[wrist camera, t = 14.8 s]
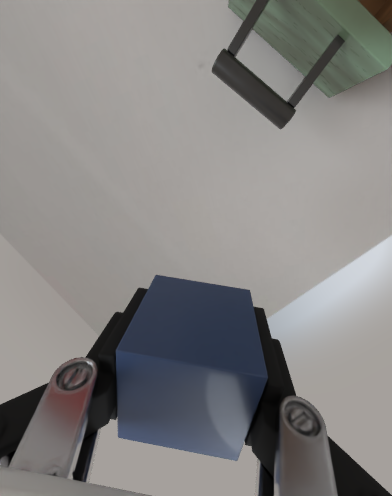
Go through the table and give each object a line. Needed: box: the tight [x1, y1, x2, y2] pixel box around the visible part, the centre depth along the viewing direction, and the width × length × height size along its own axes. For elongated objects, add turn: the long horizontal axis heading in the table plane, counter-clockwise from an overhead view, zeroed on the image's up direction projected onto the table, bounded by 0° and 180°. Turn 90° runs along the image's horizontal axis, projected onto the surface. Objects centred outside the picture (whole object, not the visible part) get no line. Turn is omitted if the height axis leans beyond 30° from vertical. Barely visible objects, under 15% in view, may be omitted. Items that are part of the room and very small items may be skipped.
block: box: [116, 275, 268, 461], centre depth 9 cm, size 4×4×4 cm
